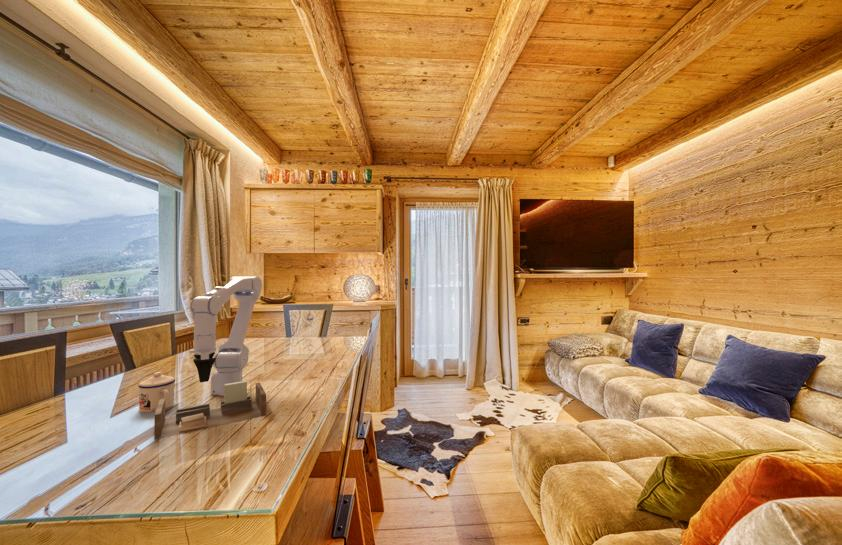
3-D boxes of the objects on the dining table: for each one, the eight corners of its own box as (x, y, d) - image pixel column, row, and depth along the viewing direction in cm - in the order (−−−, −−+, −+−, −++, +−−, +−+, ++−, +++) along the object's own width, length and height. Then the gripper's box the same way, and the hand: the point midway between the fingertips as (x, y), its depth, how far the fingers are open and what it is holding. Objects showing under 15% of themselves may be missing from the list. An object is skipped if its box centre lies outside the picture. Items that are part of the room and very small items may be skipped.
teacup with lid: (133, 411, 103) (133, 374, 103) (167, 402, 111) (167, 367, 111) (149, 420, 96) (149, 380, 97) (184, 409, 104) (184, 372, 104)
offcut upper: (181, 422, 90) (181, 417, 90) (202, 417, 93) (202, 412, 93) (182, 426, 88) (182, 422, 88) (204, 421, 91) (204, 416, 91)
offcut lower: (179, 426, 90) (179, 421, 90) (205, 420, 94) (205, 416, 94) (179, 431, 87) (179, 427, 87) (206, 426, 90) (206, 421, 90)
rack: (159, 422, 95) (160, 398, 95) (259, 403, 109) (259, 382, 109) (154, 443, 83) (154, 415, 83) (266, 418, 98) (266, 394, 98)
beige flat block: (224, 410, 101) (224, 384, 101) (246, 405, 105) (246, 380, 105) (224, 411, 100) (224, 385, 100) (246, 407, 103) (246, 381, 103)
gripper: (190, 332, 106) (189, 375, 106) (188, 339, 94) (187, 386, 94) (215, 331, 110) (214, 371, 110) (217, 336, 98) (216, 382, 98)
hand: (204, 378), depth 102 cm, fingers open, 7 cm apart
